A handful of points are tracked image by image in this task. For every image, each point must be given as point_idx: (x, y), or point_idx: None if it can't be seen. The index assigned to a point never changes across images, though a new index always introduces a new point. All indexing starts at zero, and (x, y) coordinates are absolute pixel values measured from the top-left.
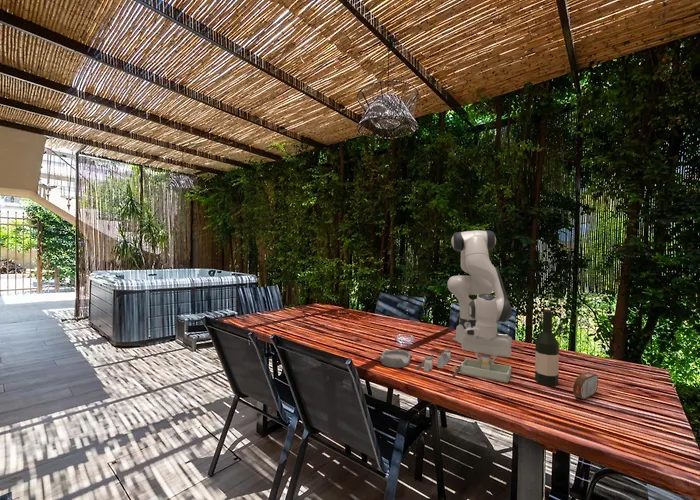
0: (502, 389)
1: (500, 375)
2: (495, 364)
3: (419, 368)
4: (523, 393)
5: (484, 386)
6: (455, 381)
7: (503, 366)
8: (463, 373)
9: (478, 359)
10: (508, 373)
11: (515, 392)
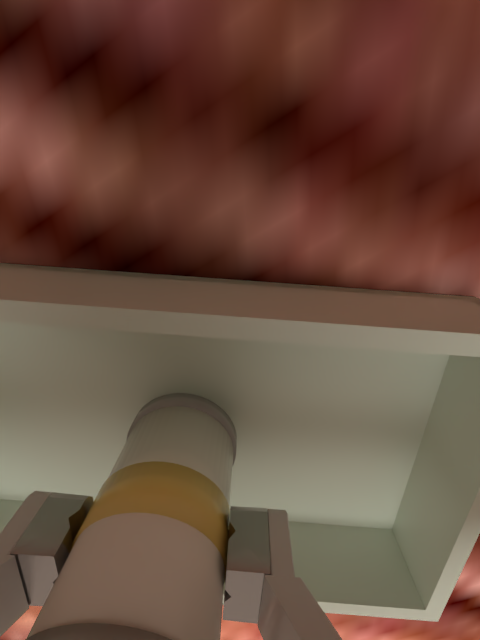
0: (342, 625)
1: (350, 583)
2: (302, 342)
3: None
4: (476, 631)
5: (225, 624)
6: (34, 621)
7: (426, 347)
8: (14, 504)
9: (31, 590)
10: (446, 601)
11: (424, 635)
